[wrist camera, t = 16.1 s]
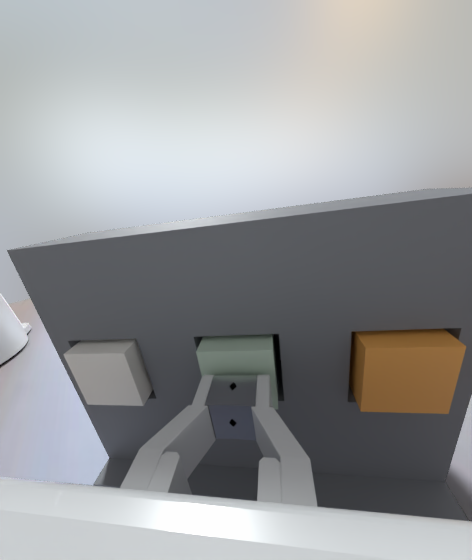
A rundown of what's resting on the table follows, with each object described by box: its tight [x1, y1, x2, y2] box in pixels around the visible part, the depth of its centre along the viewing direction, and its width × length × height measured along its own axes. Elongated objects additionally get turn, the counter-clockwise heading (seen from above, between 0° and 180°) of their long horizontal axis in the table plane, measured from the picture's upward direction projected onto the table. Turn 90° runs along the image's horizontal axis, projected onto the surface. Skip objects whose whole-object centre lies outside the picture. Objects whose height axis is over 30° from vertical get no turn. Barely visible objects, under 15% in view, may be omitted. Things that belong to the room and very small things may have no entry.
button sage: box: [196, 334, 278, 409], centre depth 12 cm, size 3×3×3 cm
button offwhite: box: [63, 339, 153, 406], centre depth 13 cm, size 3×3×3 cm
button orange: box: [349, 329, 466, 414], centre depth 10 cm, size 3×3×3 cm
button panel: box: [7, 188, 472, 521], centre depth 13 cm, size 20×7×16 cm, turn 82°
